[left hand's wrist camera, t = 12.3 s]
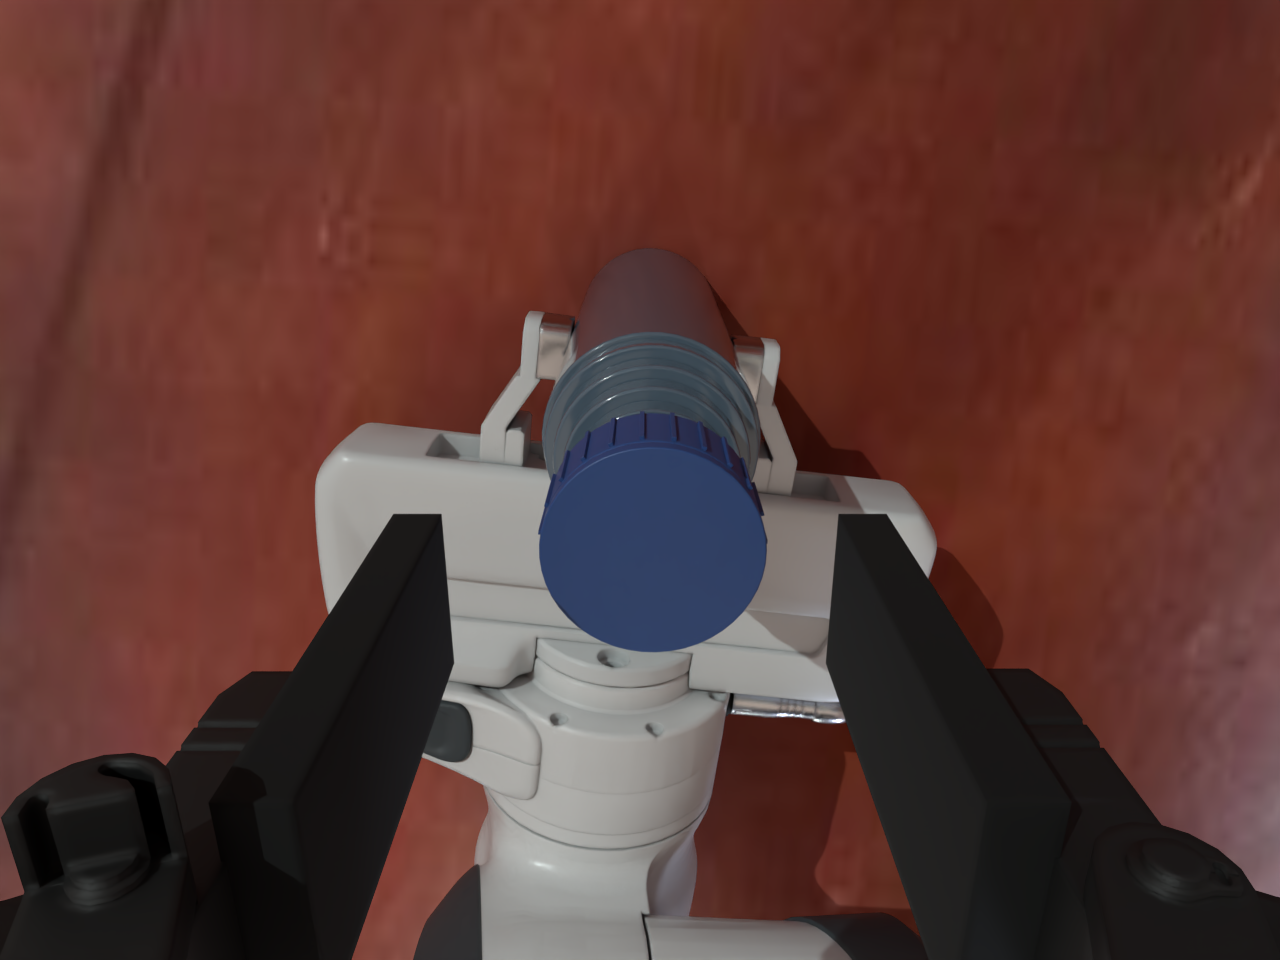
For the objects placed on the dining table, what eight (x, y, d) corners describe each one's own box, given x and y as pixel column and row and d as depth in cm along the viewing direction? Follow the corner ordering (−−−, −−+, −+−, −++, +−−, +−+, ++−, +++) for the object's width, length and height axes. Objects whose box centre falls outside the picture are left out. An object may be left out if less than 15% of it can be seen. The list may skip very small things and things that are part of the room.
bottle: (695, 230, 33) (757, 367, 15) (731, 359, 35) (828, 629, 16) (564, 271, 34) (463, 453, 15) (606, 396, 36) (562, 698, 17)
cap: (726, 382, 16) (736, 414, 15) (780, 572, 18) (795, 623, 16) (517, 443, 17) (501, 482, 15) (586, 624, 18) (579, 679, 16)
